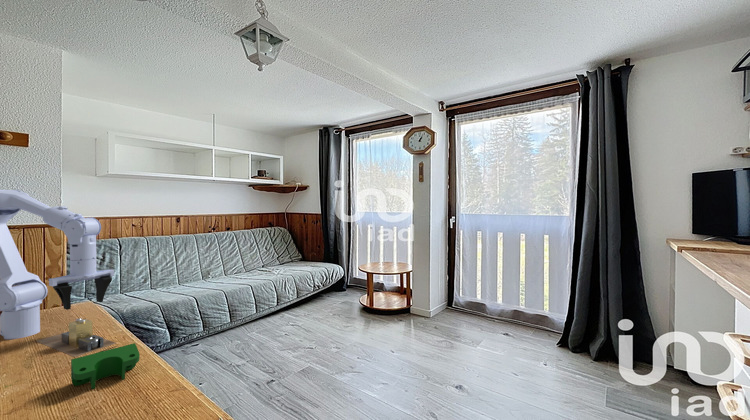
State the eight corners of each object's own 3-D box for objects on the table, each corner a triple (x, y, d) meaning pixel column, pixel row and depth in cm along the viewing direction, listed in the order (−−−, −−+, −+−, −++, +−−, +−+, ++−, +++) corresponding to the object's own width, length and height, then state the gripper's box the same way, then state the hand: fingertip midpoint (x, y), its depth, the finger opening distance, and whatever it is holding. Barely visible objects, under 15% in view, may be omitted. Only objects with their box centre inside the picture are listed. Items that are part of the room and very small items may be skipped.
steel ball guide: (61, 341, 89) (61, 333, 89) (77, 337, 92) (77, 329, 92) (87, 351, 83) (87, 342, 83) (103, 346, 86) (103, 337, 86)
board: (35, 344, 89) (35, 340, 89) (76, 332, 97) (76, 329, 97) (74, 360, 80) (74, 356, 80) (116, 346, 88) (116, 342, 88)
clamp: (86, 409, 68) (62, 382, 64) (82, 391, 72) (60, 365, 68) (149, 370, 75) (132, 343, 71) (143, 356, 79) (126, 329, 75)
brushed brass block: (69, 344, 87) (68, 320, 87) (85, 340, 90) (84, 316, 90) (76, 347, 85) (76, 322, 85) (92, 342, 88) (92, 318, 88)
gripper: (57, 264, 86) (57, 314, 86) (119, 256, 99) (120, 300, 99) (45, 262, 89) (45, 311, 89) (107, 254, 102) (107, 297, 102)
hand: (84, 305), depth 94 cm, fingers open, 7 cm apart
